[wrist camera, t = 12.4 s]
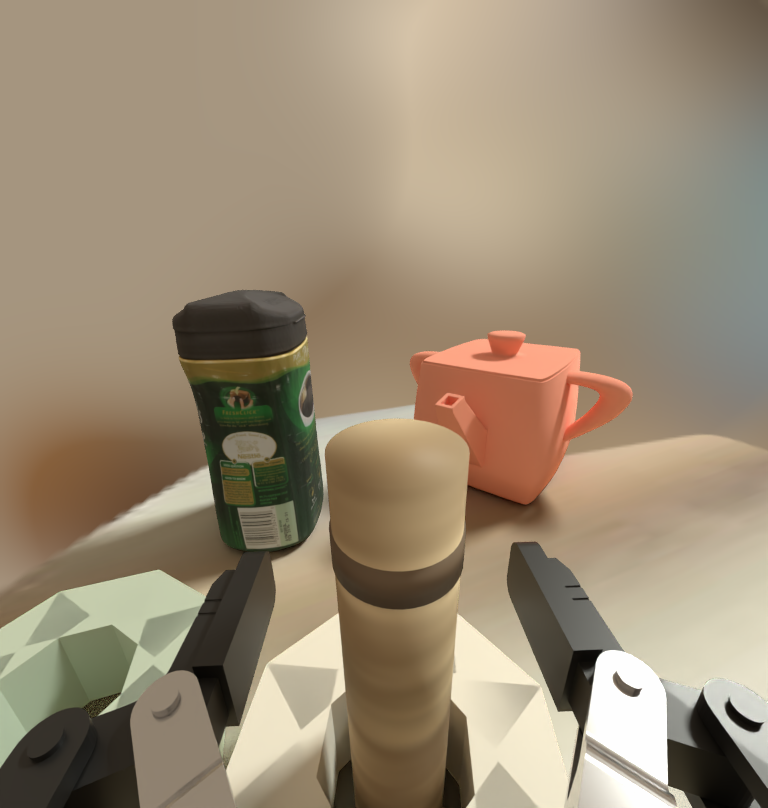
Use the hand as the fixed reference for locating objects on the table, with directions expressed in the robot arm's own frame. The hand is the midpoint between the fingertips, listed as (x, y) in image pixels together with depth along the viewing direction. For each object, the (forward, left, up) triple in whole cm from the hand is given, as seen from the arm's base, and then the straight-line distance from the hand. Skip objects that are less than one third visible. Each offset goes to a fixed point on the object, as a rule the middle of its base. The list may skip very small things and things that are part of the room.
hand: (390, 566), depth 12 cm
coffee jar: (+19, -3, -11) cm, 22 cm away
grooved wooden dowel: (-2, +1, -10) cm, 11 cm away
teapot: (+12, -23, -11) cm, 28 cm away
